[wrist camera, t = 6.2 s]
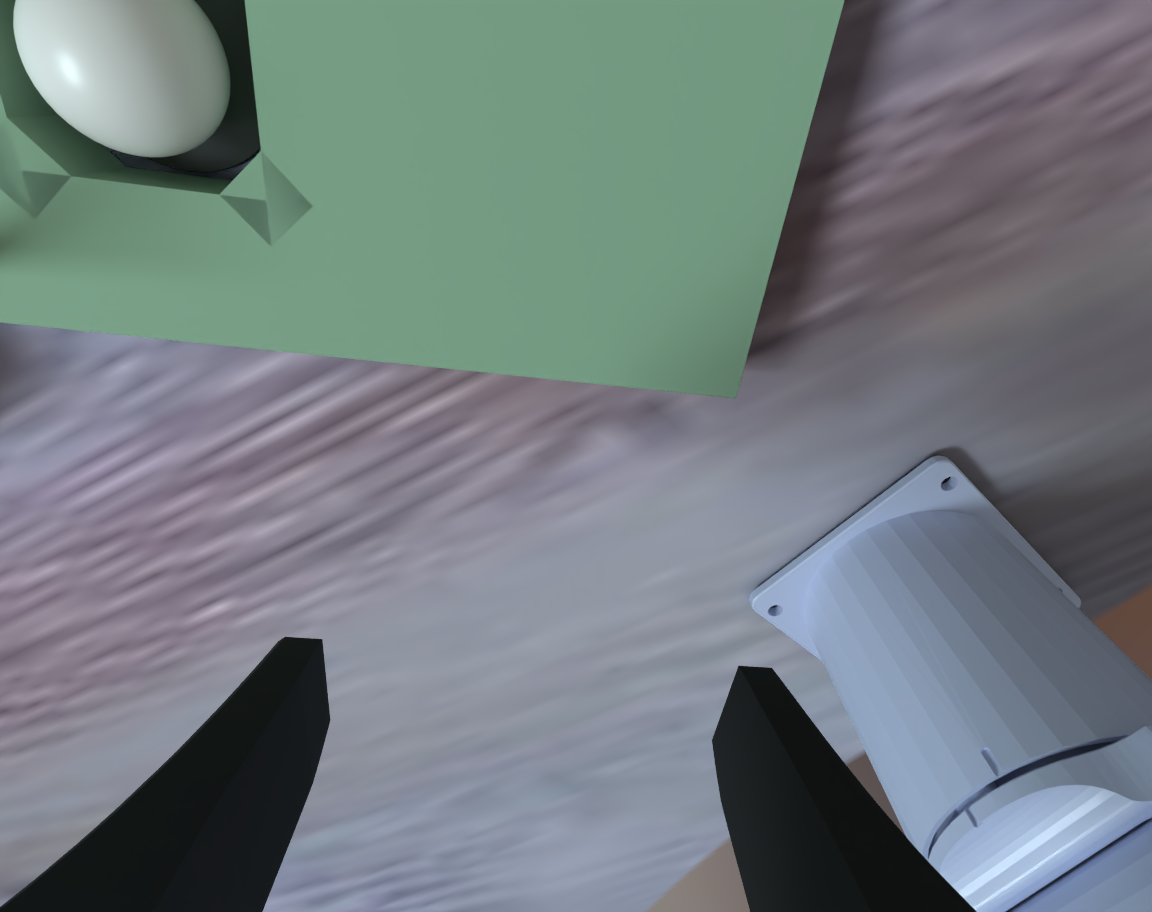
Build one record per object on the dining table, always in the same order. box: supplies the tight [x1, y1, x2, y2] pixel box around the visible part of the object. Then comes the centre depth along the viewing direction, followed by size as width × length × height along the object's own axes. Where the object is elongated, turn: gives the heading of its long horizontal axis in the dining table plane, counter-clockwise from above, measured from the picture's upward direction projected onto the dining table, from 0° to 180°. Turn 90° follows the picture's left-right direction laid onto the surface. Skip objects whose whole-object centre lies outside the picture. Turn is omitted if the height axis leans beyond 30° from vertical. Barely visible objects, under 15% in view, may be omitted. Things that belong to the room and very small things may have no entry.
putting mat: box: [0, 0, 844, 398], centre depth 11 cm, size 22×12×9 cm, turn 83°
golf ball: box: [13, 0, 231, 157], centre depth 13 cm, size 4×4×4 cm
